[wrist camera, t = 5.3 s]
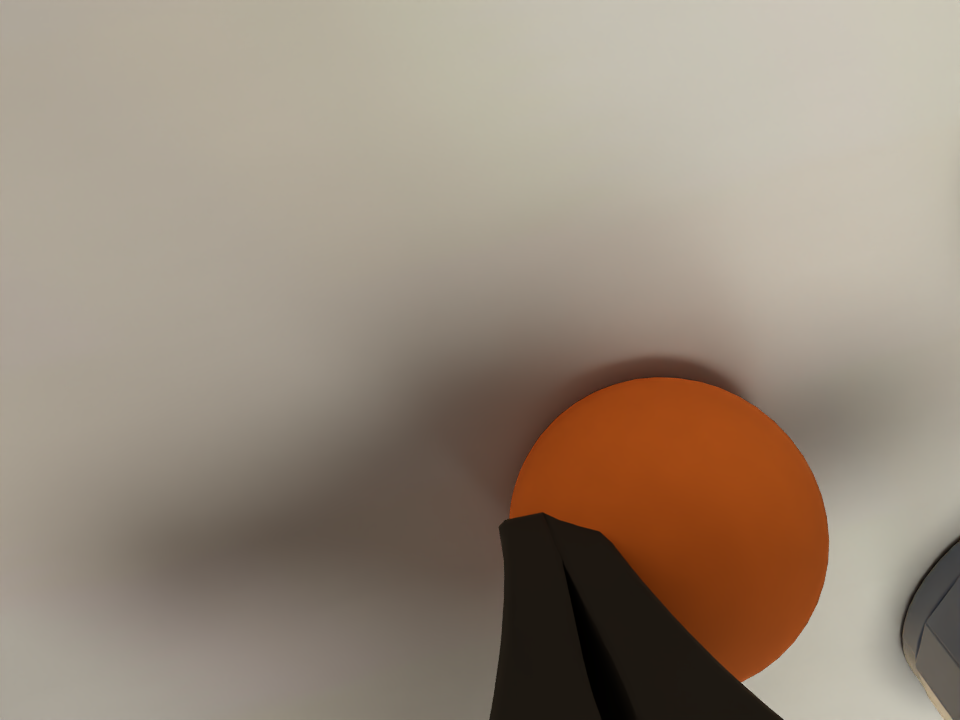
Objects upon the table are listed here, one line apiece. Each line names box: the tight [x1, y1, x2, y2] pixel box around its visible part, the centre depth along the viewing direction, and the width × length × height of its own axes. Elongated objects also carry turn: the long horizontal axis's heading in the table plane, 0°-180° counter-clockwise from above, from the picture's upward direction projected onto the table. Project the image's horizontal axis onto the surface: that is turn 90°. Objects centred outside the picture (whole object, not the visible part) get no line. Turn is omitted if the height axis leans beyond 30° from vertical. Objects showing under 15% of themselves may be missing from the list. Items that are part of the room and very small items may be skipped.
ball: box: [509, 377, 829, 682], centre depth 13 cm, size 5×5×5 cm
